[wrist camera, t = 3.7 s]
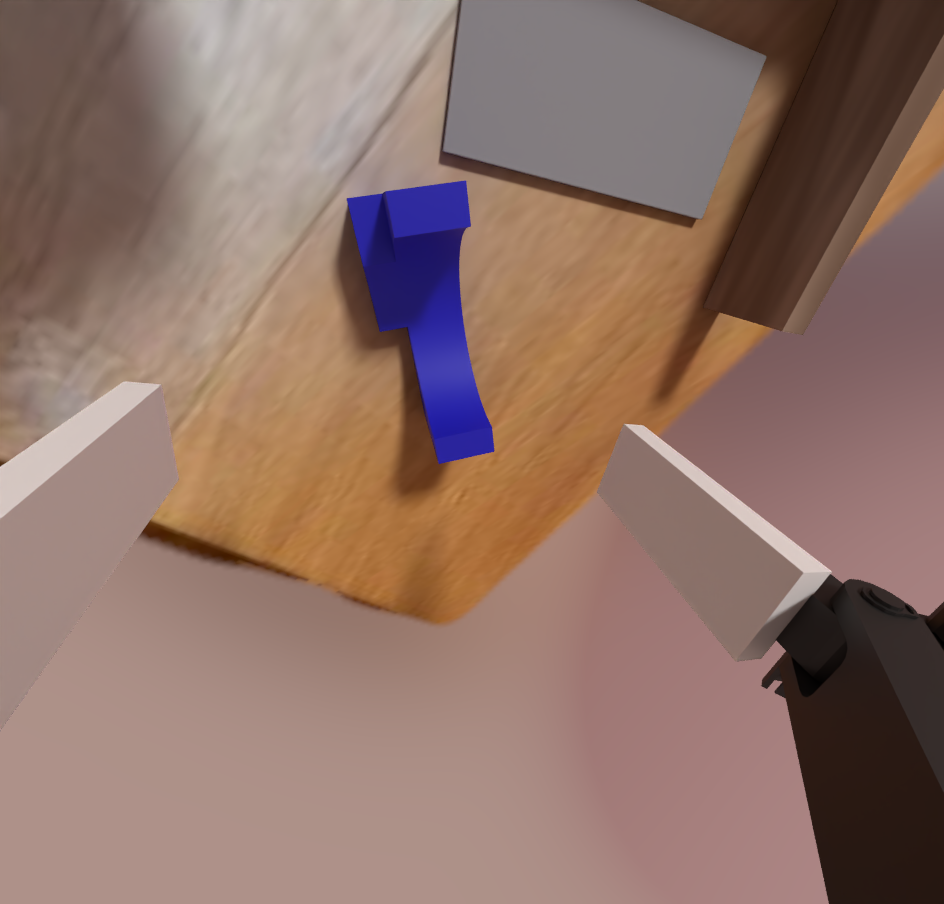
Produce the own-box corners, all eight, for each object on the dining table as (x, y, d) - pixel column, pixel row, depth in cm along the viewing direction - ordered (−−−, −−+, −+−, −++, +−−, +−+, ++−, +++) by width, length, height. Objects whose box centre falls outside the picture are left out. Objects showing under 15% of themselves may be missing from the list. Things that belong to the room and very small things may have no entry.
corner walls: (419, 253, 21) (436, 269, 16) (498, -438, 12) (590, -888, 7) (721, 310, 27) (802, 334, 22) (926, -134, 18) (1146, -267, 13)
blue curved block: (349, 199, 20) (343, 197, 14) (440, 186, 20) (466, 180, 15) (401, 419, 26) (410, 470, 21) (470, 405, 27) (494, 451, 22)
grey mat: (441, 151, 19) (443, 150, 19) (468, -65, 16) (470, -71, 16) (697, 219, 23) (701, 219, 23) (760, 58, 20) (766, 56, 20)
